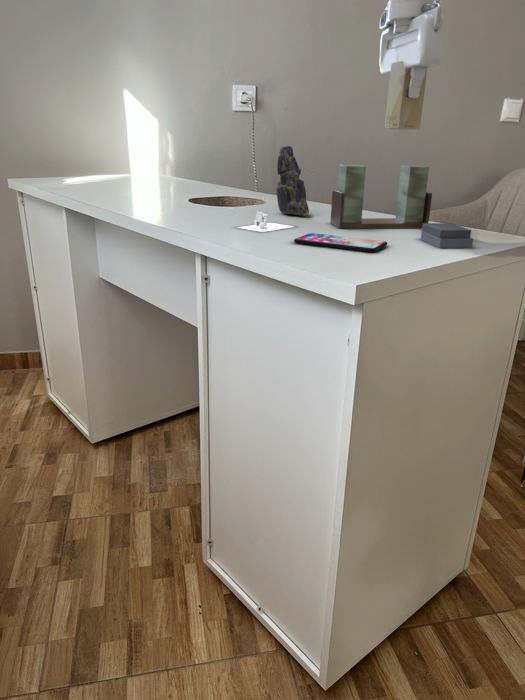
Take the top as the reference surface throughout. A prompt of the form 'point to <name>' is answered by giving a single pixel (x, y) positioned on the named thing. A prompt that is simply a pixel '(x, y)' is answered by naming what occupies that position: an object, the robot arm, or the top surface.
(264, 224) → the adhesive hook
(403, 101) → the box
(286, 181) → the statue
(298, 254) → the top surface
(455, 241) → the grey books
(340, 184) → the book rack
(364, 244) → the smartphone
